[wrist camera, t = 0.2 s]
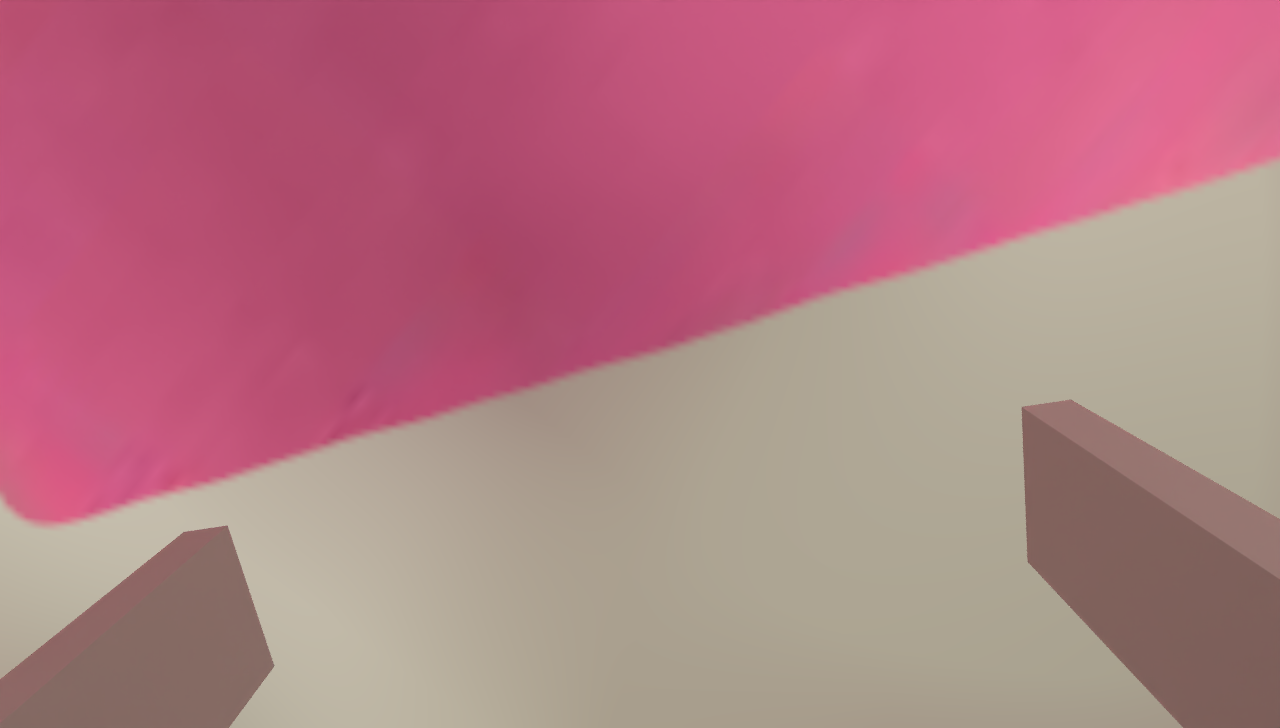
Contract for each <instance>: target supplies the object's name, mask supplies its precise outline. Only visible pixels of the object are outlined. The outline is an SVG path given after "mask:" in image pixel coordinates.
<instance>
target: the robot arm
mask: <svg viewBox="0 0 1280 728" xmlns="http://www.w3.org/2000/svg"><path fill="white" fill-rule="evenodd" d="M1022 427H1023V453H1024V478H1025V479H1024V480H1025V504H1026V531H1027V557H1028V563H1030V565H1031V566H1032V567H1033V568H1034V569H1035V570H1036V571H1037V572H1038V573H1039V574H1040V575H1041V576H1042V578H1044V580H1045V581H1046V582H1047V583H1048V584H1049V585H1050V586H1051V587H1052V588H1053V589H1054V590H1055V591H1056V592H1057V594H1058V595H1059V596H1060V597H1061V598H1062V599H1063V600H1064V601H1065V602H1066V603H1067V604H1068V605H1069V606H1070V607H1071V608H1072V609H1073V611H1074V612H1075V613H1076V614H1077V615H1078V616H1079V617H1080V618H1081V619H1082V620H1083V621H1084V622H1085V623H1086V624H1087V625H1088V626H1089V628H1090V629H1091V630H1092V631H1093V632H1094V633H1095V634H1096V635H1097V636H1098V637H1099V638H1100V639H1101V640H1102V641H1103V643H1104V644H1106V646H1107V647H1108V648H1109V649H1110V650H1111V651H1112V652H1113V653H1114V654H1115V655H1116V656H1117V657H1118V659H1119V660H1120V661H1121V662H1122V663H1123V664H1124V665H1125V666H1126V667H1127V668H1128V669H1129V670H1130V671H1131V672H1132V673H1133V674H1134V676H1135V677H1136V678H1137V679H1138V680H1139V681H1140V682H1141V683H1142V684H1143V685H1144V686H1145V687H1146V688H1147V689H1148V690H1149V691H1150V693H1151V694H1152V695H1153V696H1154V697H1155V698H1156V699H1157V700H1158V701H1159V702H1160V703H1161V704H1162V705H1163V706H1164V708H1166V710H1167V711H1168V712H1169V713H1170V714H1171V715H1172V716H1173V717H1174V718H1175V719H1176V720H1177V721H1178V722H1179V724H1180V725H1181V726H1182V727H1183V728H1280V519H1279V518H1277V517H1275V516H1273V515H1271V514H1270V513H1268V512H1266V511H1265V510H1263V509H1261V508H1259V507H1258V506H1256V505H1254V504H1252V503H1251V502H1249V501H1247V500H1245V499H1244V498H1242V497H1240V496H1238V495H1237V494H1235V493H1233V492H1231V491H1230V490H1228V489H1226V488H1224V487H1222V486H1221V485H1219V484H1217V483H1215V482H1214V481H1212V480H1210V479H1208V478H1207V477H1205V476H1203V475H1201V474H1200V473H1198V472H1196V471H1195V470H1193V469H1191V468H1189V467H1188V466H1186V465H1184V464H1182V463H1181V462H1179V461H1177V460H1175V459H1174V458H1172V457H1170V456H1168V455H1166V454H1165V453H1163V452H1161V451H1160V450H1158V449H1156V448H1154V447H1153V446H1151V445H1149V444H1147V443H1146V442H1144V441H1142V440H1140V439H1139V438H1137V437H1135V436H1133V435H1132V434H1130V433H1128V432H1126V431H1125V430H1123V429H1121V428H1119V427H1118V426H1116V425H1114V424H1112V423H1111V422H1109V421H1107V420H1106V419H1104V418H1102V417H1100V416H1099V415H1097V414H1095V413H1093V412H1091V411H1090V410H1088V409H1086V408H1085V407H1082V406H1081V405H1079V404H1078V403H1076V402H1074V401H1072V400H1066V401H1059V402H1052V403H1046V404H1039V405H1033V406H1025V407H1022ZM273 667H274V664H273V661H272V658H271V655H270V652H269V649H268V646H267V643H266V640H265V637H264V634H263V631H262V628H261V625H260V622H259V619H258V616H257V613H256V610H255V607H254V604H253V601H252V598H251V595H250V592H249V589H248V586H247V583H246V580H245V577H244V574H243V571H242V568H241V565H240V562H239V559H238V556H237V553H236V550H235V547H234V544H233V541H232V538H231V535H230V532H229V529H228V526H222V527H216V528H208V529H202V530H195V531H188V532H183V533H182V534H181V535H180V536H178V537H177V538H176V539H175V540H173V541H172V542H171V543H170V544H168V545H167V546H166V547H165V548H163V549H162V550H161V551H160V552H158V553H157V554H156V555H155V556H154V557H152V558H151V559H150V560H149V561H147V562H146V563H145V564H144V565H142V566H141V567H140V568H139V569H137V570H136V571H135V572H134V573H132V574H131V575H130V576H129V577H127V578H126V579H125V580H124V581H122V582H121V583H120V584H119V585H118V586H116V587H115V588H114V589H112V590H111V591H110V592H109V593H107V594H106V595H105V596H104V597H102V598H101V599H100V600H99V601H97V602H96V603H95V604H94V605H92V606H91V607H90V608H89V609H87V610H86V611H85V612H84V613H82V614H81V615H80V616H79V617H77V618H76V619H75V620H74V621H73V622H71V623H70V624H69V625H67V626H66V627H65V628H64V629H62V630H61V631H60V632H59V633H58V634H56V635H55V636H54V637H53V638H51V639H50V640H49V641H48V642H46V643H45V644H44V645H43V646H41V647H40V648H39V649H38V650H36V651H35V652H34V653H33V654H31V655H30V656H29V657H28V658H26V659H25V660H24V661H23V662H22V663H20V664H19V665H18V666H16V667H15V668H14V669H13V670H11V671H10V672H9V673H8V674H6V675H5V676H4V677H3V678H1V679H0V728H229V727H230V725H231V724H232V722H233V721H234V720H235V719H236V717H237V716H238V715H239V713H240V712H241V710H242V709H243V708H244V706H245V705H246V704H247V702H248V701H249V700H250V698H251V697H252V695H253V694H254V693H255V691H256V690H257V689H258V687H259V686H260V685H261V683H262V682H263V681H264V679H265V678H266V677H267V675H268V674H269V673H270V671H271V670H272V669H273Z"/></svg>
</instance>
